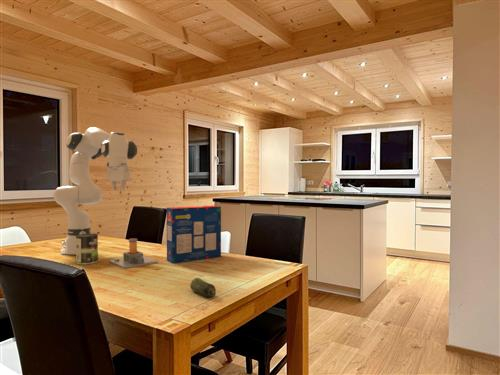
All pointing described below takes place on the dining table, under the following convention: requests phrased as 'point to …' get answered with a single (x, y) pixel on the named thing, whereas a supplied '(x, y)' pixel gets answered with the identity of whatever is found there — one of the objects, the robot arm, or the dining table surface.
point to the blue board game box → (193, 233)
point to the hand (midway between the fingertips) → (118, 190)
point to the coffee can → (86, 248)
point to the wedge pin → (133, 246)
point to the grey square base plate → (132, 260)
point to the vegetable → (203, 288)
